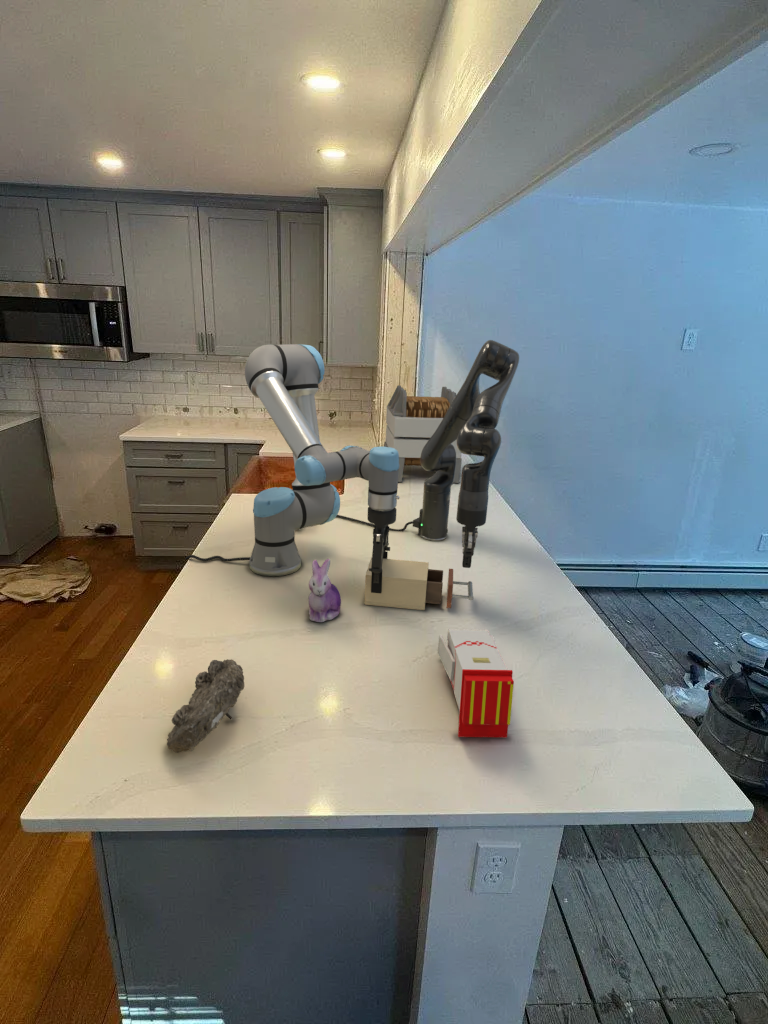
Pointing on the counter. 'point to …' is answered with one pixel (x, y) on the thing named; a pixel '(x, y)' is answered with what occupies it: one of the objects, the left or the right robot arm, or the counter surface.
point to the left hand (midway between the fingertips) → (379, 582)
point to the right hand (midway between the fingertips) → (466, 566)
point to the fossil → (206, 705)
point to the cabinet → (399, 584)
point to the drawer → (436, 587)
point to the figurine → (323, 594)
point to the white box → (416, 426)
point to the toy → (478, 682)
